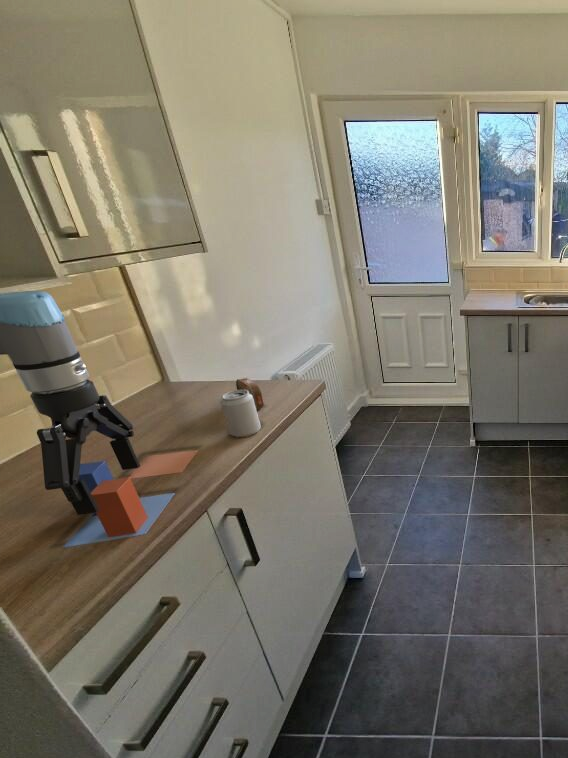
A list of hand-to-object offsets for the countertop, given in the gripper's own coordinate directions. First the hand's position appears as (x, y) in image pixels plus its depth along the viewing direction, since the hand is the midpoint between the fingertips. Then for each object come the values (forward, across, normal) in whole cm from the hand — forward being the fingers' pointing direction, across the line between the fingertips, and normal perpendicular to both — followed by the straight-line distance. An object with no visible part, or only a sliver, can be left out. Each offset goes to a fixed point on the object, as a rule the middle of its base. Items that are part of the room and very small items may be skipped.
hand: (111, 488), depth 78 cm
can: (+10, +36, -11) cm, 39 cm away
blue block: (+9, +8, +8) cm, 15 cm away
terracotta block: (+9, 0, 0) cm, 9 cm away
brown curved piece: (+10, +54, -8) cm, 56 cm away
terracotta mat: (+10, +24, +4) cm, 26 cm away
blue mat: (+10, +4, +3) cm, 11 cm away
